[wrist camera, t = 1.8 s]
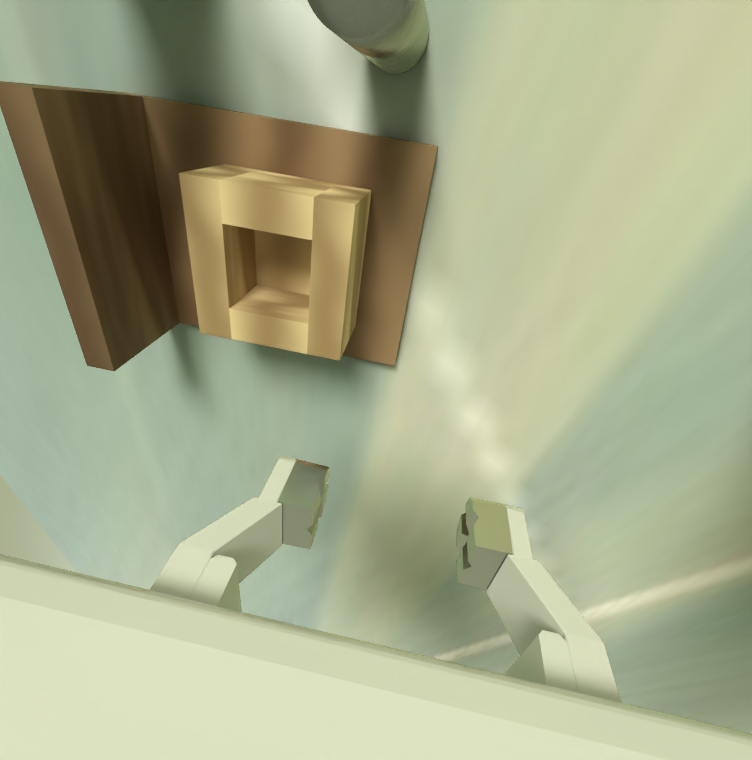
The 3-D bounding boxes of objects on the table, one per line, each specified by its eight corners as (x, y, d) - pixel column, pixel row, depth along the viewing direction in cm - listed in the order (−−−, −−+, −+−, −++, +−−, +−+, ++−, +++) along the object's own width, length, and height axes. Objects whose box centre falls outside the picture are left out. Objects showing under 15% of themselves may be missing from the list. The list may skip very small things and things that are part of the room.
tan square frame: (371, 190, 26) (355, 204, 21) (355, 326, 31) (339, 360, 27) (225, 163, 26) (178, 173, 22) (235, 302, 32) (199, 332, 27)
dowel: (435, -6, 21) (423, -119, 11) (421, 78, 23) (401, 46, 13) (369, -16, 21) (300, -136, 11) (361, 68, 23) (297, 29, 13)
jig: (437, 145, 25) (433, 156, 17) (396, 359, 34) (381, 426, 26) (123, 92, 26) (-9, 80, 18) (164, 313, 35) (87, 365, 27)
